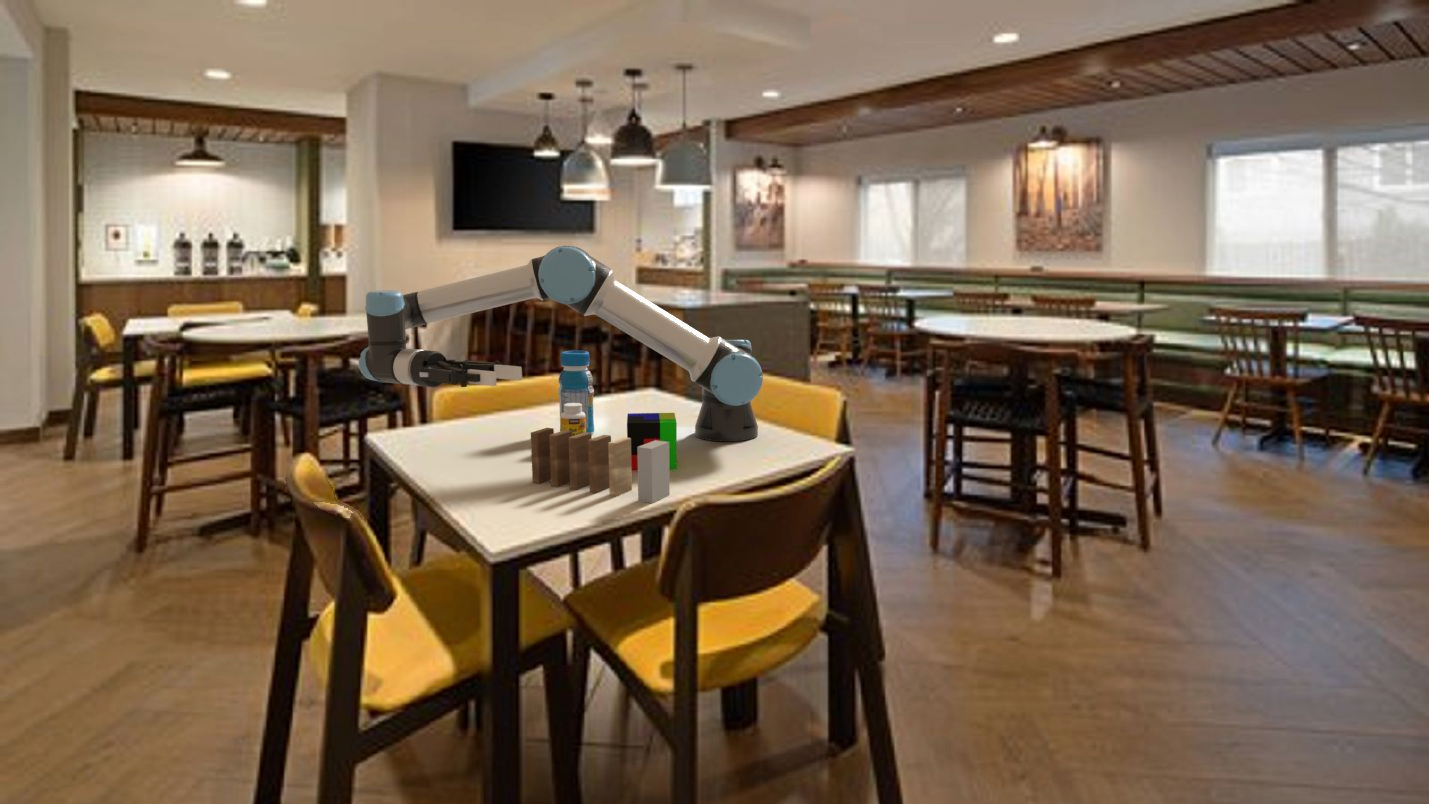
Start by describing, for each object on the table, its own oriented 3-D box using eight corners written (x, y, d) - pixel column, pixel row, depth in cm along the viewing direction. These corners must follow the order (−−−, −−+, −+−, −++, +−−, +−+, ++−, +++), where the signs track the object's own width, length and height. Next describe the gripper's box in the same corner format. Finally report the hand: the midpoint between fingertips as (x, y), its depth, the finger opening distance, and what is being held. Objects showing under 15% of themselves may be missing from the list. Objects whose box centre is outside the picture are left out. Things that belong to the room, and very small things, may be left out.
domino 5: (609, 495, 162) (608, 442, 160) (624, 488, 166) (623, 437, 164) (616, 496, 161) (615, 443, 159) (631, 489, 165) (630, 438, 164)
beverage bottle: (570, 439, 206) (568, 355, 203) (553, 433, 213) (550, 351, 209) (601, 434, 212) (599, 352, 208) (583, 429, 218) (581, 349, 214)
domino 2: (551, 485, 168) (549, 434, 166) (567, 479, 172) (565, 429, 171) (557, 487, 167) (556, 435, 165) (573, 480, 172) (572, 430, 170)
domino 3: (570, 489, 166) (568, 437, 164) (585, 482, 170) (584, 432, 168) (577, 490, 165) (575, 438, 163) (592, 483, 170) (591, 433, 168)
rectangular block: (638, 501, 158) (637, 446, 156) (655, 492, 164) (655, 440, 162) (652, 503, 157) (651, 448, 155) (669, 494, 162) (669, 442, 160)
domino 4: (589, 492, 164) (588, 439, 162) (605, 485, 168) (603, 434, 166) (596, 493, 163) (595, 440, 161) (612, 486, 167) (610, 435, 166)
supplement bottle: (567, 453, 194) (566, 407, 192) (557, 448, 198) (555, 403, 196) (590, 449, 197) (589, 404, 195) (580, 444, 201) (578, 401, 199)
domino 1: (532, 482, 170) (530, 432, 168) (548, 476, 174) (547, 427, 173) (539, 483, 169) (537, 433, 168) (555, 477, 174) (553, 428, 172)
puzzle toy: (628, 459, 189) (627, 413, 187) (674, 458, 190) (674, 412, 188) (627, 471, 179) (626, 423, 177) (676, 470, 180) (676, 422, 178)
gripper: (457, 379, 192) (540, 387, 181) (385, 393, 175) (473, 403, 164) (455, 345, 190) (539, 351, 180) (383, 355, 173) (471, 363, 163)
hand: (507, 376), depth 172 cm, fingers open, 7 cm apart
